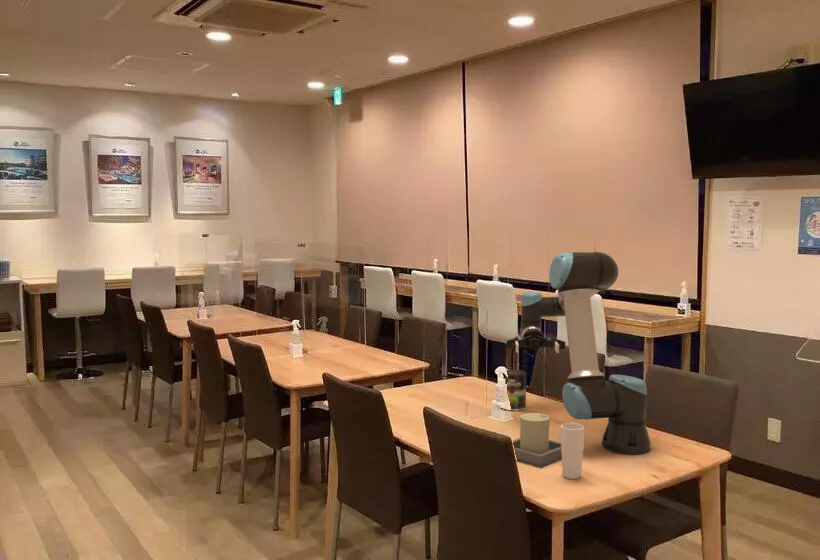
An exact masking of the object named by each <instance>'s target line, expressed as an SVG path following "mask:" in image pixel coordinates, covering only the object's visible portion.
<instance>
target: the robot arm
mask: <svg viewBox="0 0 820 560" xmlns="http://www.w3.org/2000/svg"><path fill="white" fill-rule="evenodd" d="M548 275H549V276H548V277H549V284H550V286H551V287H552V288H553V289H554V290H555V289H556V290H557V293H558V294H557V296H543V295H542V293H541V292H539V291H527V292H526V291H525V292H523V293H522V294H521V300H520V301H521V303H520V308H521V309H520V311H521V313H520V316H521V319H520V320H521V321H520V332H519V334H520V337H521V338H520V337H519V336H515V337H513V338H511V339H510V338H509V339H507V340H506V349H510V348H511V351H515V353H516V354H518V353H519V348H523V347H524V348H527V349H529V350H532V351H536V350H540V348H543V349H544V348H551V349H553V350H554V351H555V352H556V354H559V353H560V350H565V349H566V341H564V340H561V339H557V338H555V337H549V338H547V337H545V336H544V334H543V332H542V319H543V318H550V317H552V318H553V317H565V326H566V332H567V333H566V334H567V342H568V351H569V359H570V360H569V361H570V368H571V369H570V370H571V373H570V374H569V376H568V377H567V383H565V384H564V385H563V386H562V392H561V396H562V402H563V406H564V408H565V411H566V412H567V413H568V414H569V416H570V417H572V418H573V419H575V420H585V421H587V420H588V421H589V420H595V419H607V418H608V420H607V425H606V428H605V431H604V433H603V435H602V439H601V446H602V447H603V448H604V449H606V450H607V451H609V452H613V453H617V454H622V455H623V454H625V455H640V454H641V455H642V454H646V453H649V452H650V451H651V447H652V446H651V445H652V444H651V443H652V442H651V439H650V436H649V433H648V429H647V426H646V422H647V421H646V420H647V396H648V390H647V388H648V387H647V383H646V382H645V381H644V380H643V379H640V378H638V377H635V376H630V375H623V374H610V375H609V377H608V380H605V379H606V377H605V374H604V373H603V372H601V371H600V369H599V360H598V352H597V344H596V342H597V341H596V335H595V328H594V320H593V319H594V318H593V310H592V308H593V307H592V301H591V298H592V297H593V296H595V295H596V294H598V293H599V292H603V291H607V290H608V289H610V288H611V287H612V286H613V285H614V284H615V283H616V282H617V280H618V278H619V266H618V264H617V262H616V260H614V259H613V257H612V256H610V255H609V254H606V253H604V252H599V251H590V252H589V251H588V252H586V251H580V252H579V251H577V252H572V251H569V252H563V253H561V252H560V253H558V254H556V255H555V256H554V257H553V259H552V261H551V263H550V266H549V274H548Z"/></svg>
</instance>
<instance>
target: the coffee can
mask: <svg viewBox="0 0 820 560" xmlns="http://www.w3.org/2000/svg"><path fill="white" fill-rule="evenodd" d="M506 370H507V375H508V379H507V394H508V398H509V401H510V406H511V410H513V411H512V412H519V410H521V411H525V410H526V405H527V402H526V401H527V371H525V370H523V369H522V370H521V369H512V368H511V369H506Z"/></svg>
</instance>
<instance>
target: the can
mask: <svg viewBox="0 0 820 560" xmlns="http://www.w3.org/2000/svg"><path fill="white" fill-rule="evenodd" d="M519 420H520V421H519V422H520V423H519V426H520V429H519V430H520V431H519V432H520V433H519V438H520V449H521V450H525V451H529V452H532V453H536V454H539V455H541V454H543V453H546V452H548V451H549V440H550V416H549V415H547V414H543V413H538V412H525V413H522V414H521V415H519Z"/></svg>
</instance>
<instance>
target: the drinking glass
mask: <svg viewBox="0 0 820 560" xmlns="http://www.w3.org/2000/svg"><path fill="white" fill-rule="evenodd" d="M585 428H586V427H585V426H584V424H581V423H576V422H564V423H562V424H561V425H560V443H561V453H562V459H561V464H562V465H561V466H562V467H561V468H562V471H561V472H562V473H561V474H562V477H564V478H565V477H566V479H568V478H569V479H570V480H578V479H580V478H581V477H582V466H583V457H584V449H585V438H586V437H585V436H586V434H585V433H586V432H585ZM569 479H568V480H569Z"/></svg>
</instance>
